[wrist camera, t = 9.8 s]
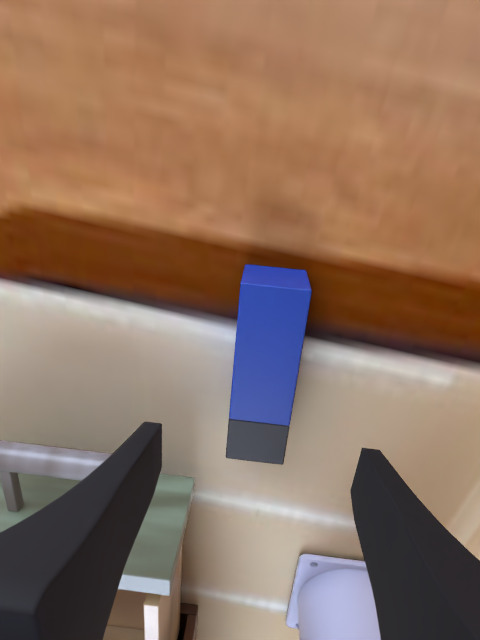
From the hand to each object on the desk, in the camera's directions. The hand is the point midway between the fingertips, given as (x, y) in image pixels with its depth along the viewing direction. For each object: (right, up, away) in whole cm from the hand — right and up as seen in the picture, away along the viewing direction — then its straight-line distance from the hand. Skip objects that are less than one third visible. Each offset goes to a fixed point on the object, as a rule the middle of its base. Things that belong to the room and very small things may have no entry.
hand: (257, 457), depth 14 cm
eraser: (+1, +3, +7) cm, 8 cm away
